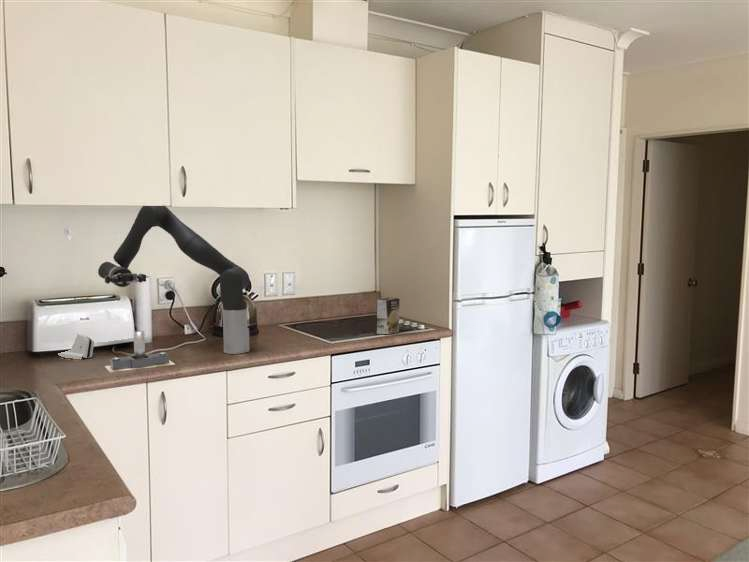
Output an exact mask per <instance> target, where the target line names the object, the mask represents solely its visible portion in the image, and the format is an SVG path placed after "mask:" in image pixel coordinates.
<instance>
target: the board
mask: <svg viewBox="0 0 749 562" xmlns="http://www.w3.org/2000/svg"><path fill="white" fill-rule="evenodd" d="M172 365H174V366H175V365H176V363H174V362H173V361H171V360H170V359H169V363H168V364H160V365H153V366H150V367H142V368H133V369H132V368H127V369H118V370H113V369H112V368H111V367H110V365H104V367H105V369H106V370H107V371H108V372H109V373H115V372H125V371H132V370H140V369H142V370H143V369H147V368H148V369H149V368H156V367H165V366H172Z"/></svg>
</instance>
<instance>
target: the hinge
mask: <svg viewBox="0 0 749 562" xmlns="http://www.w3.org/2000/svg"><path fill="white" fill-rule="evenodd" d="M76 334H77V337H76V339H75V342H74V344H73V346H72V348H71V349H70V350H68V351H65V352H61V353H58V355H59V356H61V357H65V358H73V359H80V360H79V361H81V359H82V360H83V359H84V358H85V359H88V358H87V357H92V358H93V354H94V352H93V351H94V346H95V341H94V340H93V339H92V338H91V337H88V336H86V335H84V334H81V335H79V334H80V333H76ZM83 335H84V336H83ZM85 336H86V337H85ZM82 357H83V358H82Z"/></svg>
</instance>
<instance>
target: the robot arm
mask: <svg viewBox="0 0 749 562" xmlns="http://www.w3.org/2000/svg"><path fill="white" fill-rule="evenodd" d="M155 227H159V228H160V229H162V230H163V231H165V232H166V233H168V234H169V235H170V236H171V237H172V238H173V240H174V242H175V244H176V245H177V247H178V248H179V249H180V251H181V252H182V253H184V254H185V255H186V256H187V257H188V258H190V259H191V260H192V261H194V262H196V264H199V265H201V266H203V267H206V268H207V269H210V270H212V271H214V272H215V273H217V274H218V275H219V276H220V279H219V291H220V293H219V295H220V302H221V304H222V323H223V324H222V325H223V326H222V327H223V329H222V330H223V352H224V353H225V354H228V355H229V354H230V355H232V354H233V355H236V354H239V355H240V354H245V353H247V352H250V328H249V327H248V305H247V304H248V303H247V301H246V300H245V298H244V293H243V290H245V289H246V288H248V286H249V285H250V275H249V274H248V272H247V271H246V270H245V269H244V268H242V267H241V266H239V265H237V264H236V263H234V262H233V261H231V260H230V259H228V258H227V257H225V255H223V254H222V253H221V252H220V251H219V250H218V249H217V248H215V247H214V246H213V245H212V244H211V243H209V242H208V241H207V240H206V239H204V238H203V237H202V236H200V235H199V234H198V233H197V232H195V231H194V230H193V229H192V228H190V227H189V226H188V225H186V224H185V223H184V222H183V221H181V220H180V219H179V218H178V217H177V216H176V215H175V214H174V213H173V212H172V211H171V210H170V209H169V207H167V206H166V205H164V206H144V205H142V207H141V208H140V209H139V211H138V213H137V216H136V218H135V219H134V222H133V224H132V226H131V228H130V230H129V232H128V234H127V236H126V237H125V238H124V240H123V241H122V243H121V244H120V245H119V247H118V249H117V250H116V251H115V253H114V254H113V261H114V262H115V263H116V264H118V265H116V264H115V263H112V262H110V261H104V262H102V263H101V264H100V265H99V267H98V270H97V273H98V276H99V278H101V279H104V283H106V284H110V283H111V284H113V285H114V286H117V287H119V288H125V287H127V286H129V285H130V284H137V283H140V284H141V283H145V282H147V275H146V274H143V273H139V274H137V273H133V272H132V271H131V270H130V269H129V266H130V265H131V263H132V262H133V260H135V258H136V256H137V255H138V254H139V251H140V249H141V245H142V241H143V240H144V237H145V236H146V234H147V233H149V231H150V230H151V229H152V228H155Z"/></svg>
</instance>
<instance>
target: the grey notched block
mask: <svg viewBox="0 0 749 562" xmlns="http://www.w3.org/2000/svg"><path fill="white" fill-rule="evenodd" d="M169 360H170V354H169V353H167V351H160V352H158V353H145V358H140V359H135V356H134V354H132V355H127V356H123V357H119V356H116V357H112V358H109V363H110V365H109V366H110V367H111V368H112V369H113V370H118V369H127V368H132V369H133V368H142V367H150V366H153V365H160V364H168V363H169ZM150 368H151V367H150ZM142 369H143V368H142Z"/></svg>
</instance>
